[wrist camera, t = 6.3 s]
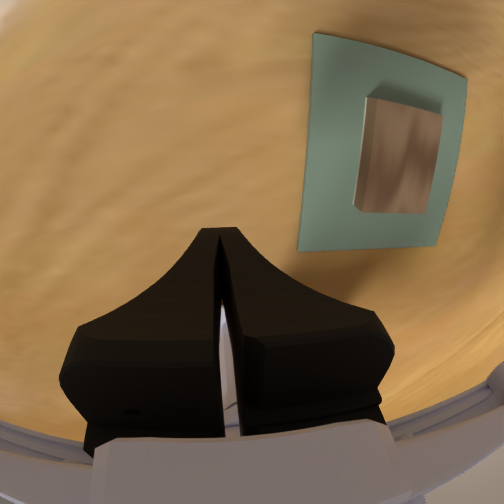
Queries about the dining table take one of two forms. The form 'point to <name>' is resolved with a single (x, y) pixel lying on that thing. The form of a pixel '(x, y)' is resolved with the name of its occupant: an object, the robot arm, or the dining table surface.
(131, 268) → the dining table surface
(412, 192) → the tile
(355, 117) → the mat
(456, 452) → the robot arm
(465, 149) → the dining table surface
